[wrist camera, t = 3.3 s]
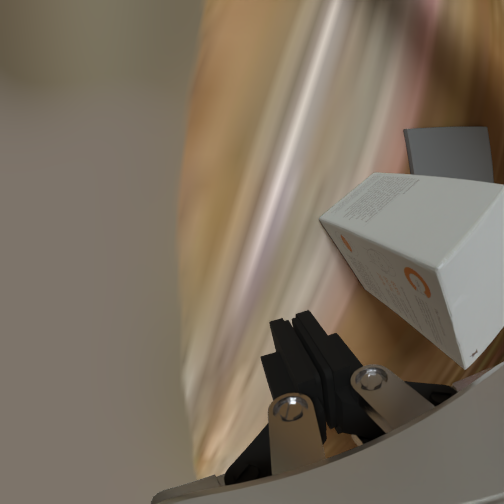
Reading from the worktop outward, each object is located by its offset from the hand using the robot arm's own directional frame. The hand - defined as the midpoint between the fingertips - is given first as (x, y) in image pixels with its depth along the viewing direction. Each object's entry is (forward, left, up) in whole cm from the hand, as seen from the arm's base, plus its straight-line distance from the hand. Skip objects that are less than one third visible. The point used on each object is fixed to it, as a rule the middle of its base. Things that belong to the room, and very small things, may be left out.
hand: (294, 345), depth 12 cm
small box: (0, +10, -11) cm, 15 cm away
